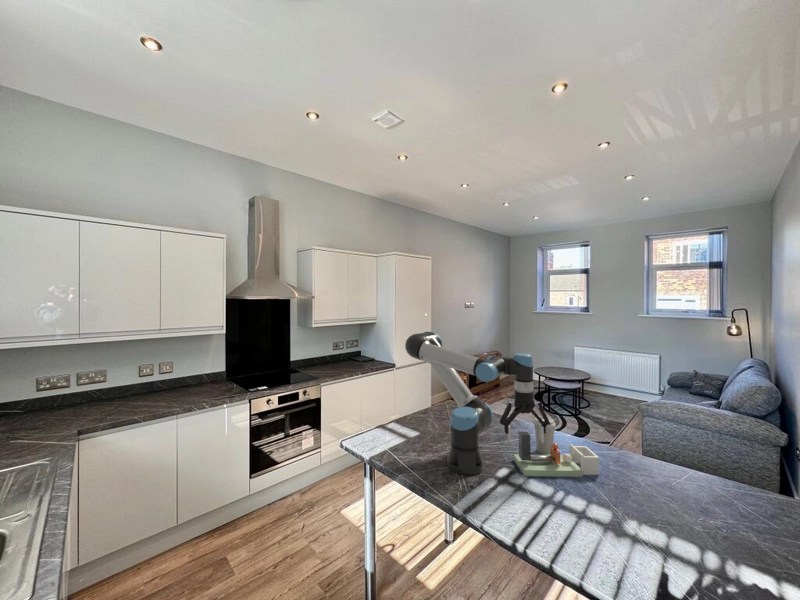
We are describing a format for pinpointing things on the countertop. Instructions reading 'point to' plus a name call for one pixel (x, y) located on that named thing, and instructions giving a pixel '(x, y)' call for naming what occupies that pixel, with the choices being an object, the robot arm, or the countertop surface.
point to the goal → (585, 459)
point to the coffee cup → (548, 436)
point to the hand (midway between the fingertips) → (525, 441)
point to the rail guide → (541, 462)
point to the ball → (567, 458)
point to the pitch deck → (548, 468)
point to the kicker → (526, 450)
